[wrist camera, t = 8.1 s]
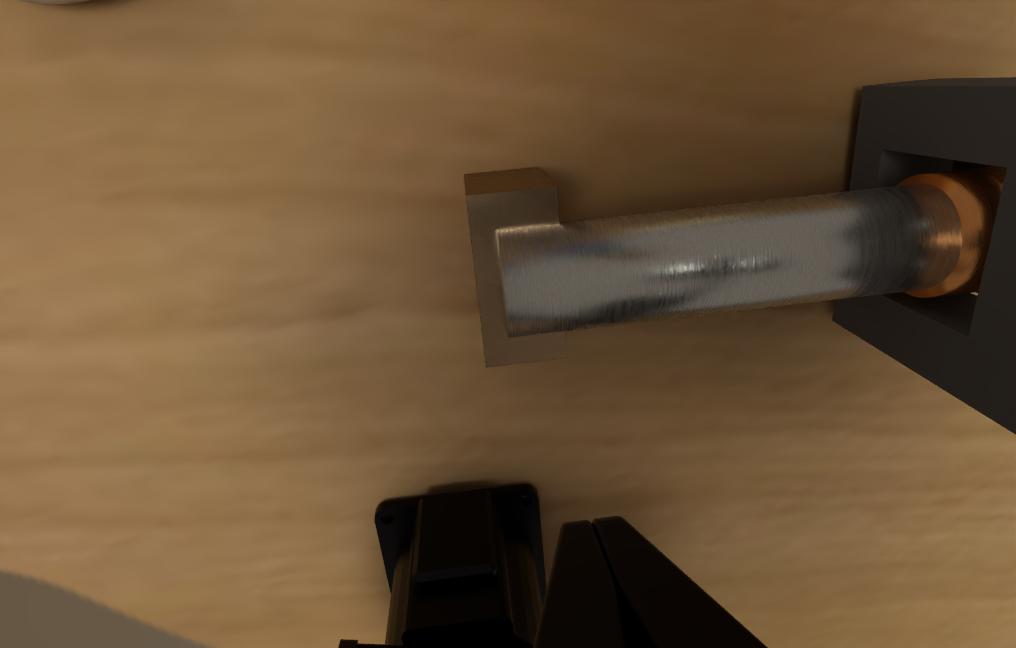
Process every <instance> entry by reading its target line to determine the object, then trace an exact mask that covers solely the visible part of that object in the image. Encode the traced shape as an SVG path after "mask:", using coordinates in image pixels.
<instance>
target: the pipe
mask: <svg viewBox="0 0 1016 648" xmlns="http://www.w3.org/2000/svg"><path fill="white" fill-rule="evenodd" d="M1006 170H1007V168H1005V167H998V166H991V165H985V164H978V163H971V162H964V161H958V160H954V161H953V166H952V171H946V172H937V173H927V174H918V175H914V176H911V177H909V178H907V179H905V180H903V181H902V182H900V183H899V184H898V185H897V186H891V187H882V188H872V189H863V190H854V191H845V192H836V193H826V194H817V195H808V196H799V197H790V198H780V199H771V200H762V201H753V202H744V203H734V204H725V205H716V206H707V207H698V208H688V209H679V210H670V211H661V212H652V213H642V214H633V215H624V216H615V217H606V218H596V219H587V220H578V221H569V222H559V208H558V190H557V186H556V185H555V184H554V183H553V182H552V181H551V180H550V179H549V178H548V177H547V176H546V175H545V174H544V173H543V172H542V171H541V170H540V169H539V168H538V167H532V168H522V169H513V170H503V171H494V172H484V173H475V174H465V175H464V181H465V191H466V200H467V209H468V217H469V226H470V235H471V243H472V252H473V260H474V269H475V277H476V286H477V294H478V303H479V312H480V320H481V329H482V337H483V346H484V354H485V363H486V367H495V366H503V365H512V364H520V363H528V362H537V361H545V360H554V359H562V358H567V347H566V331H571V330H579V329H588V328H596V327H605V326H614V325H622V324H631V323H639V322H648V321H656V320H665V319H673V318H682V317H691V316H699V315H708V314H716V313H725V312H733V311H742V310H751V309H759V308H768V307H776V306H785V305H793V304H802V303H810V302H819V301H828V300H836V299H845V298H853V297H862V296H870V295H879V294H888V293H896V292H905V293H907V294H909V295H911V296H914V297H919V298H929V297H937V296H946V295H954V294H963V293H971V292H976V293H978V292H979V288H980V283H981V279H982V275H983V270H984V266H985V262H986V257H987V253H988V248H989V244H990V240H991V235H992V231H993V227H994V222H995V218H996V214H997V209H998V205H999V200H1000V196H1001V192H1002V187H1003V183H1004V179H1005V174H1006Z"/></svg>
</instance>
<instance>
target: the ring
mask: <svg viewBox="0 0 1016 648" xmlns="http://www.w3.org/2000/svg"><path fill="white" fill-rule="evenodd" d="M954 160H958V161H964V162H971V163H978V164H985V165H991V166H998V167H1005V168H1007V170H1006V174H1005V179H1004V183H1003V187H1002V192H1001V196H1000V200H999V205H998V209H997V214H996V218H995V222H994V227H993V231H992V235H991V240H990V244H989V248H988V253H987V257H986V262H985V266H984V270H983V275H982V279H981V283H980V288H979V292H978V296H976V295H974V294H971V293H963V294H954V295H946V296H937V297H929V298H919V297H914V296H911V295H909V294H907V293H905V292H896V293H888V294H879V295H870V296H862V297H853V298H845V299H836V300H835V304H834V311H833V319H832V321H834V322H835V323H837V324H839V325H840V326H842V327H843V328H845V329H847V330H848V331H850V332H852V333H853V334H855V335H856V336H858V337H860V338H861V339H863V340H864V341H866V342H868V343H869V344H871V345H872V346H874V347H876V348H877V349H879V350H880V351H882V352H884V353H885V354H887V355H889V356H890V357H892V358H893V359H895V360H897V361H898V362H900V363H901V364H903V365H905V366H906V367H908V368H909V369H911V370H913V371H914V372H916V373H918V374H919V375H921V376H922V377H924V378H926V379H927V380H929V381H930V382H932V383H934V384H935V385H937V386H938V387H940V388H942V389H943V390H945V391H947V392H948V393H950V394H951V395H953V396H955V397H956V398H958V399H959V400H961V401H963V402H964V403H966V404H967V405H969V406H971V407H972V408H974V409H975V410H977V411H979V412H980V413H982V414H984V415H985V416H987V417H988V418H990V419H992V420H993V421H995V422H996V423H998V424H1000V425H1001V426H1003V427H1004V428H1006V429H1008V430H1009V431H1011V432H1013V433H1014V434H1016V77H1015V78H951V79H929V80H919V81H909V82H899V83H889V84H879V85H869V86H863V90H862V97H861V105H860V113H859V120H858V128H857V136H856V143H855V151H854V159H853V166H852V174H851V181H850V189H849V191H854V190H863V189H872V188H882V187H891V186H897V185H898V184H899V183H900V182H902V181H903V180H905V179H907V178H909V177H911V176H914V175H918V174H927V173H937V172H946V171H952V166H953V161H954Z"/></svg>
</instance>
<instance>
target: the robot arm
mask: <svg viewBox="0 0 1016 648" xmlns="http://www.w3.org/2000/svg"><path fill="white" fill-rule="evenodd" d="M523 496H530V497H529V498H528V499H526V500H525V499H521V498H522V497H523ZM386 513H387V514H391V515H393V516H391V517H386V516H384V515H383V514H386ZM375 525H376V529H377V534H378V538H379V543H380V547H381V551H382V556H383V560H384V565H385V569H386V574H387V578H388V583H389V587H390V592H391V600H390V608H389V616H388V624H387V632H386V640H385V645H384V644H358V640H343V639H341V640H340V644H339V647H338V648H768V647H766V646H765V645H764V644H763V643H762V642H761V641H760V640H759V639H758V638H756V637H755V636H754V635H753V634H752V633H751V632H750V631H749V630H747V629H746V628H745V627H744V626H743V625H742V624H741V623H740V622H739V621H737V620H736V619H735V618H734V617H733V616H732V615H731V614H730V613H728V612H727V611H726V610H725V609H724V608H723V607H722V606H721V605H720V604H718V603H717V602H716V601H715V600H714V599H713V598H712V597H711V596H710V595H708V594H707V593H706V592H705V591H704V590H703V589H702V588H701V587H699V586H698V585H697V584H696V583H695V582H694V581H693V580H692V579H691V578H689V577H688V576H687V575H686V574H685V573H684V572H683V571H682V570H680V569H679V568H678V567H677V566H676V565H675V564H674V563H673V562H672V561H670V560H669V559H668V558H667V557H666V556H665V555H664V554H663V553H662V552H660V551H659V550H658V549H657V548H656V547H655V546H654V545H653V544H651V543H650V542H649V541H648V540H647V539H646V538H645V537H644V536H643V535H641V534H640V533H639V532H638V531H637V530H636V529H635V528H634V527H632V526H631V525H630V524H629V523H628V522H627V521H626V520H625V519H623V518H622V517H620V516H612V517H604V518H597V519H594V520H593V522H592V523H591V522H590V521H588V520H581V521H573V522H566V523H564V524H563V525H562V526H561V529H560V534H559V538H558V542H557V547H556V551H555V555H554V560H553V564H552V568H551V573H550V577H549V581H548V585H547V590H546V580H545V568H544V557H543V545H542V534H541V523H540V511H539V500H538V494H537V491H536V489H535V488H534V487H533V486H531V485H529V484H522V485H514V486H506V487H499V488H491V489H482V490H474V491H466V492H458V493H451V494H443V495H435V496H427V497H420V498H412V499H405V500H397V501H389V502H384V503H381V504H380V505H379V506H378V507H377V509H376V512H375Z"/></svg>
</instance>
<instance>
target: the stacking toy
mask: <svg viewBox="0 0 1016 648" xmlns="http://www.w3.org/2000/svg"><path fill="white" fill-rule="evenodd" d="M22 1H26V2H33V3H39V4H70V3H79V2H85V1H90V0H22Z"/></svg>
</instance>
